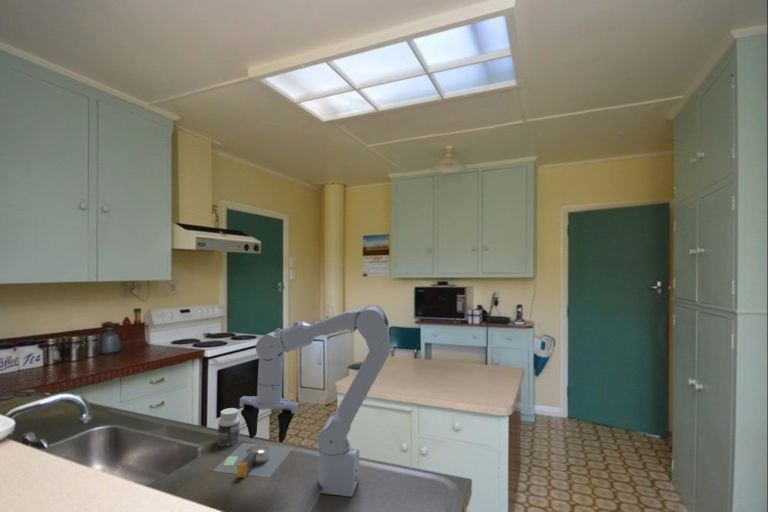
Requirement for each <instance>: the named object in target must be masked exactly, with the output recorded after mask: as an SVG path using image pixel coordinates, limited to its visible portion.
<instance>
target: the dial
mask: <svg viewBox="0 0 768 512" xmlns="http://www.w3.org/2000/svg"><path fill="white" fill-rule="evenodd" d="M265 445H266V444H260V445H256V446H252V447H250V448H249V449H248V450H247V457H246V458H245V459H243V460H242V461H241V462H240V463H239V464H238V465H237V474H236V477H237V478H239V479H240V478H242V479H245V478H246V476H248V475H247V473H248V472H249V471H250V470H251V469H252V468H253V467H254V466H255V465H261V464H264V463H266V462H267V461H268V460H269V447H268V446H265Z"/></svg>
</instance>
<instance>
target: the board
mask: <svg viewBox="0 0 768 512" xmlns="http://www.w3.org/2000/svg"><path fill="white" fill-rule="evenodd" d="M256 445H261V444H259V443H248V442H242V443H241V444H239V446H238V447H237V448H236V449H235V450H234V451H232V452H231V453H230V454H229V455H228V456H227V457H226V458H224V459H223V460H222V462H220V463H219V464H218V465H217V466H216V467H215V468H214V469H212V472H218V473H225V474H226V473H227V474H233V475H234V474H235V475H237V465H238V464H239V463H240V462H241V461H242V460H243V459H245V458H246V457H247V450H248V449H249V448H250V447H252V446H256ZM264 445H265V446H268V447H269V460H268V461H267V462H266V463H264V464H261V465H255V466H254V467H253V468H252V469H251V470H250V471H249V472H248V473H247V475H246V476H252V477H253V476H254V477H260V478H261V477H262V478H268V479H269V478H271V476H272V475H273V474H274V473H275V471H277V469H278V467H279V466H280V465H281V464H282V462H284V460H285V459H286V458H287V457H288V456H289V454H290V453H291V452H292V450H294V447H287V446H279V445H270V444H264Z"/></svg>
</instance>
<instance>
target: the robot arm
mask: <svg viewBox="0 0 768 512" xmlns="http://www.w3.org/2000/svg"><path fill="white" fill-rule="evenodd" d="M343 329H345V330H348V331H351V332H356V330H357V331H358V333H359V334H360V335H361V336H362V337H363V339H364V340H365V342H366V343H365V344H366V345H367V348H368V352H367V355H366V356H365V358H364V360H363V362H362V364H361V366H360V367H359V369H358V371H357V373H356V375H355V377H354V378H353V380H352V382H351V383H350V386H349V387H348V389H347V391H346V392H345V395H343V398H342V400H341V402H340V404H339V405H338V407H337V409H336V411H334V412H333V413H331V415H329V416H328V417H327V419H326V421H325V424H324V426H323V428H322V430H321V432H319V435H318V437H317V444H318V447H319V448H318V449H319V451H318V452H319V455H318V456H319V457H318V484H319V485H320V486H321V487H320V490H319V491H318V494H319V493H320V494H326V495H332V496H333V495H335V496H336V495H337V496H343V497H350V498H351V497H353V496H354V493H355V491H356V487H357V485H358V483H359V481H360V476H359V475H360V450H359V449H358V448H354V447H352V446H351V444H350V442H349V439H348V434H349V432H350V430H351V425H352V424H353V421H354V419H355V417H356V415H357V413H358V412H359V410H360V408H361V406H362V404H363V403H364V401H365V399H366V397H367V396H368V394H369V392H370V390H371V388H372V386H373V384H374V383H375V380H376V379H377V377H378V375H379V374H380V372H381V371H382V368H383V367H384V365H385V363H386V361H387V359H388V357H389V355H390V352H391V339H390V338H391V337H390V326H389V319H388V316H387V315H386V313H385V310H384V309H383V308H382V307H381V306H379V305H376V304H371V305H367V306H365V307H363V306H362V307H358V308H353V309H350V310H349V309H348V310H347V311H344V312H342V313H341V312H340V313H339V314H336V315H333V316H330V317H327V318H325V319H322V320H320V321H316V322H314V323H313V324H312V323H308V322H307V321H302V322H301V321H300V320H297V321H294V322H293V323H292V325H290V326H287V327H284V328H280V327H278V328H276V329H275V330H274V331H270V332H269V333H266V334H265V335H262V337H260V338H259V339H258V340H257V342H256V344H255V352H256V354H257V355H258V369H257V370H258V371H257V372H258V373H257V390H256V396H255V395H254V396H250V395H249V396H247V395H243V396H242V397H240V398H239V407H242V409H241V411H240V414H241V417H243V420H244V422H245V425H246V427H247V431H248V436H249V439H253V438H255V437H256V436H257V433H258V422H259V421H258V419H259V413H260V410H263V411H264V410H265V411H266V410H274V411H275V410H276V411H282V412H280V413H279V414H278V415H277V421H278V443H283V442H284V441H285V440H286V437H287V433H288V429H289V426H290V424H291V422H292V420H293V418H294V416H295V414H296V413H298V412H299V402H295V401H293V400H292V401H291V400H289V399H285V398H284V397H283V398H282V396H283V395H282V394H283V393H282V391H283V371H284V370H283V369H284V353H289V352H291V351H295V350H297V349H301V348H303V347H306V346H309V345H312V343H313V342H314V339H315V338H317V337H319V336H322V335H325V334H329V333H333V332H336V331H339V330H343Z"/></svg>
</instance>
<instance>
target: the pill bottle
mask: <svg viewBox="0 0 768 512" xmlns="http://www.w3.org/2000/svg"><path fill="white" fill-rule="evenodd" d="M238 415H239V410H238V409H237V408H235V407H230V408H224V409H222V410H221V411H220V419H219V420H218V426H217V427H218V428H217V445H218V446H219V447H220V446H221V447H230V446H233V445H236V444H238V443H239V441H240V422H241V421H240V418H239V416H238Z"/></svg>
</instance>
